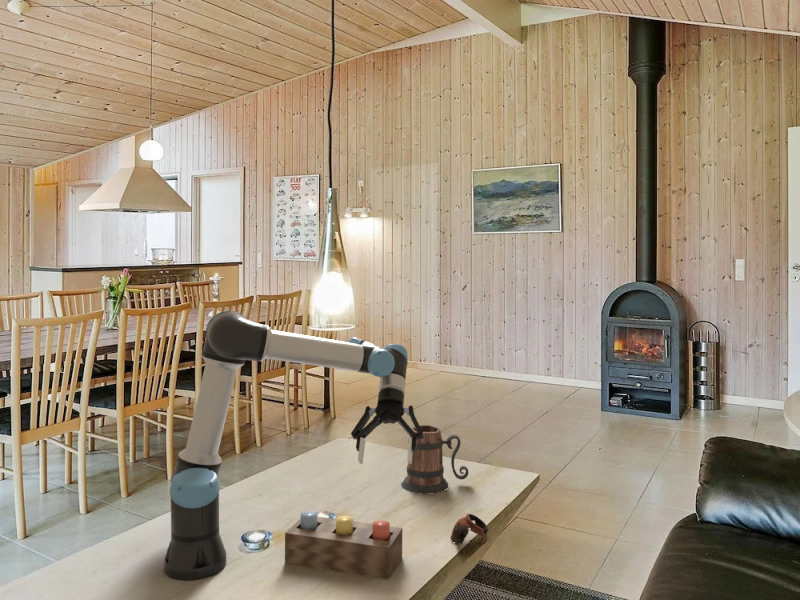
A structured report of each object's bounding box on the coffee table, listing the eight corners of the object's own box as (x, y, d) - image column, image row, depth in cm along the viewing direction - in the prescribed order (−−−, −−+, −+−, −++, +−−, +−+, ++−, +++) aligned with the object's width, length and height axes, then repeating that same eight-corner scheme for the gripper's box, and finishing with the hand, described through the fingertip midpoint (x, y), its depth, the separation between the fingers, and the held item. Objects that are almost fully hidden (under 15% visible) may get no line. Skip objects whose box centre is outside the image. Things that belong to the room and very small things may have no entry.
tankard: (401, 493, 211) (402, 435, 210) (400, 476, 228) (401, 422, 226) (471, 494, 211) (472, 435, 210) (465, 477, 228) (466, 422, 227)
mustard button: (333, 538, 162) (333, 521, 162) (339, 531, 166) (339, 514, 166) (349, 540, 161) (349, 523, 160) (355, 533, 165) (355, 516, 165)
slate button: (297, 533, 165) (297, 516, 164) (304, 526, 169) (304, 510, 169) (313, 535, 163) (313, 518, 163) (320, 528, 168) (320, 512, 167)
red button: (370, 543, 159) (370, 526, 159) (375, 536, 163) (375, 519, 163) (386, 546, 158) (386, 528, 158) (391, 538, 162) (391, 521, 162)
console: (284, 563, 162) (284, 532, 161) (304, 543, 173) (304, 514, 173) (388, 579, 154) (389, 547, 154) (402, 557, 166) (402, 527, 165)
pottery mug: (456, 532, 183) (471, 509, 182) (481, 555, 178) (496, 531, 177) (437, 536, 173) (453, 512, 172) (463, 561, 168) (479, 536, 167)
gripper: (435, 399, 183) (432, 467, 170) (352, 400, 188) (343, 467, 174) (432, 385, 177) (428, 455, 164) (347, 387, 182) (336, 455, 169)
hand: (384, 461), depth 169 cm, fingers open, 13 cm apart
